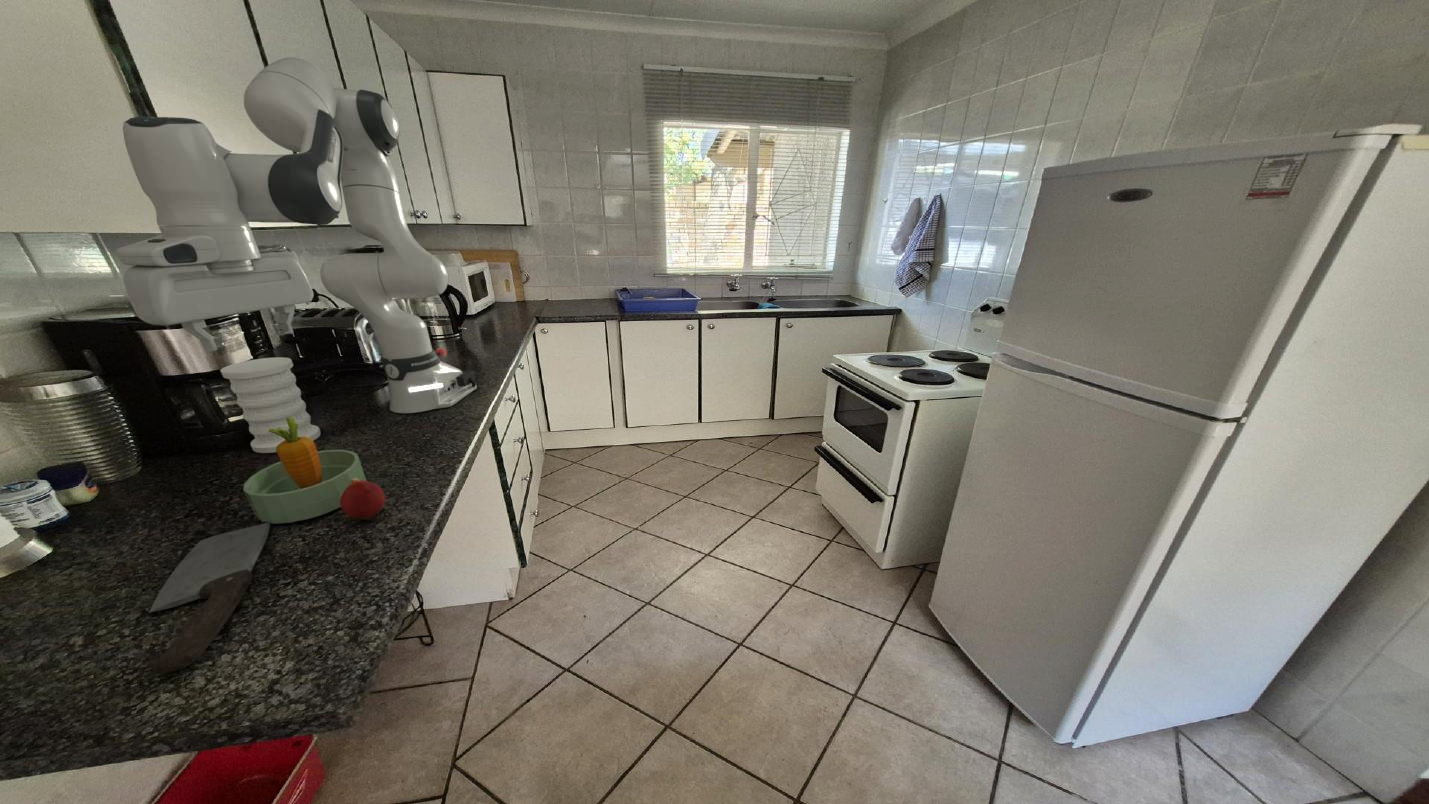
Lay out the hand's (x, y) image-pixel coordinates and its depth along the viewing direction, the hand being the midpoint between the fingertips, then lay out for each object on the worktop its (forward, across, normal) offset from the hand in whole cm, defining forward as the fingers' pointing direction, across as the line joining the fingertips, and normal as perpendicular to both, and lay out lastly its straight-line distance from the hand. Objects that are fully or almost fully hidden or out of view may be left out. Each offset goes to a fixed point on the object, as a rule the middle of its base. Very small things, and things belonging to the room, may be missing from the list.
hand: (252, 341), depth 69 cm
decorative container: (+29, -17, -29) cm, 45 cm away
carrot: (+29, 0, 0) cm, 29 cm away
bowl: (+29, 0, 0) cm, 29 cm away
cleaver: (+29, +20, +8) cm, 36 cm away
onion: (+29, +3, +14) cm, 33 cm away
